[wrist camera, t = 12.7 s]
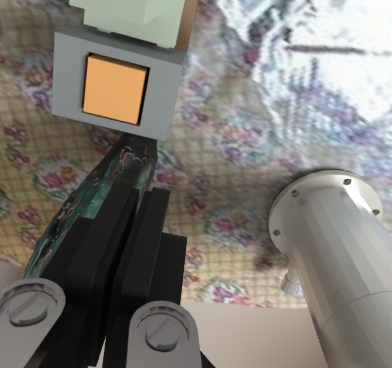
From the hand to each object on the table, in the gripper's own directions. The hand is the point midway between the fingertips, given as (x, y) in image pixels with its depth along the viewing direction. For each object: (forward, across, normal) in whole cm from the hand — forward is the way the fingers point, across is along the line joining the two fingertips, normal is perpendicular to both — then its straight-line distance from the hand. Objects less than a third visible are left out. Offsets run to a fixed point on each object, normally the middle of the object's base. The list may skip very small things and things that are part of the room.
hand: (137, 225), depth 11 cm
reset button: (+21, +5, +1) cm, 22 cm away
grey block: (+23, +5, +1) cm, 24 cm away
